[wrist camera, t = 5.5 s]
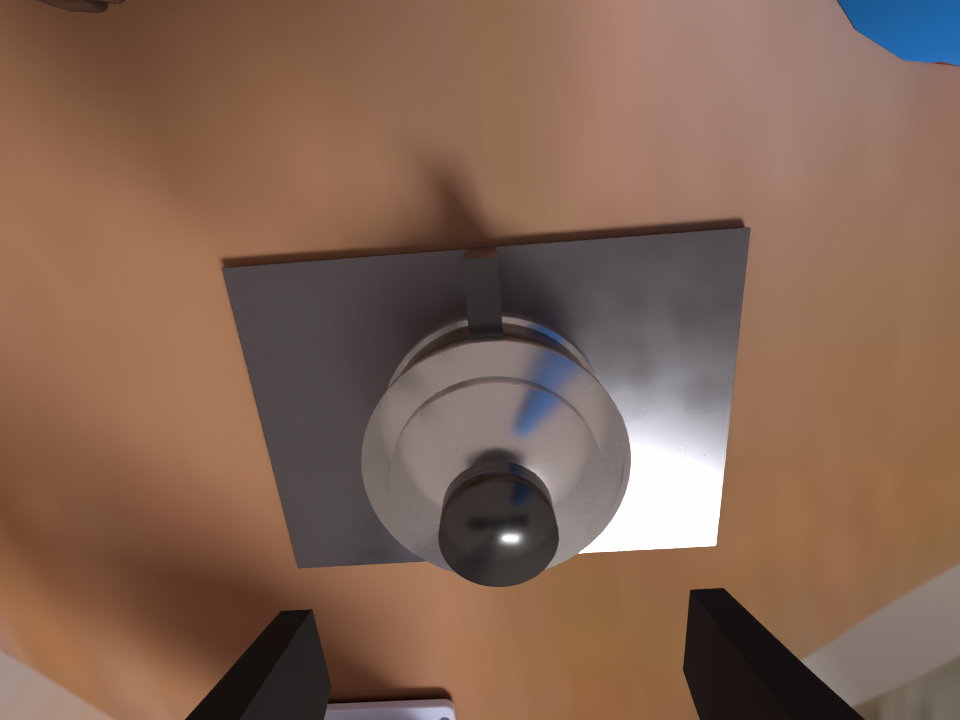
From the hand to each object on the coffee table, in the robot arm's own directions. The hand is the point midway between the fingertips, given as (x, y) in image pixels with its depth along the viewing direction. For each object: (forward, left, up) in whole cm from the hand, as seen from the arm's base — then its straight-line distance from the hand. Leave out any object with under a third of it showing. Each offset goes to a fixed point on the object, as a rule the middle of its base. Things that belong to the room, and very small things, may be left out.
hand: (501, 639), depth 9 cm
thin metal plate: (0, 0, -10) cm, 10 cm away
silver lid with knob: (0, 0, -6) cm, 6 cm away
